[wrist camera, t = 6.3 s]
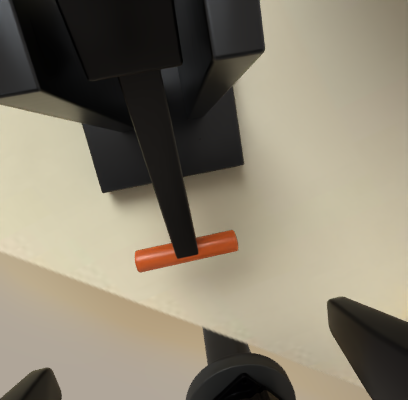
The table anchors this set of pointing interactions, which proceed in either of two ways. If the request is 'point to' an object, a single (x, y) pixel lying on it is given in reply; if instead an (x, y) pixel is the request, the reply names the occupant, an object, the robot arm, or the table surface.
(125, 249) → the table surface
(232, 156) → the bracket
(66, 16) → the lever
